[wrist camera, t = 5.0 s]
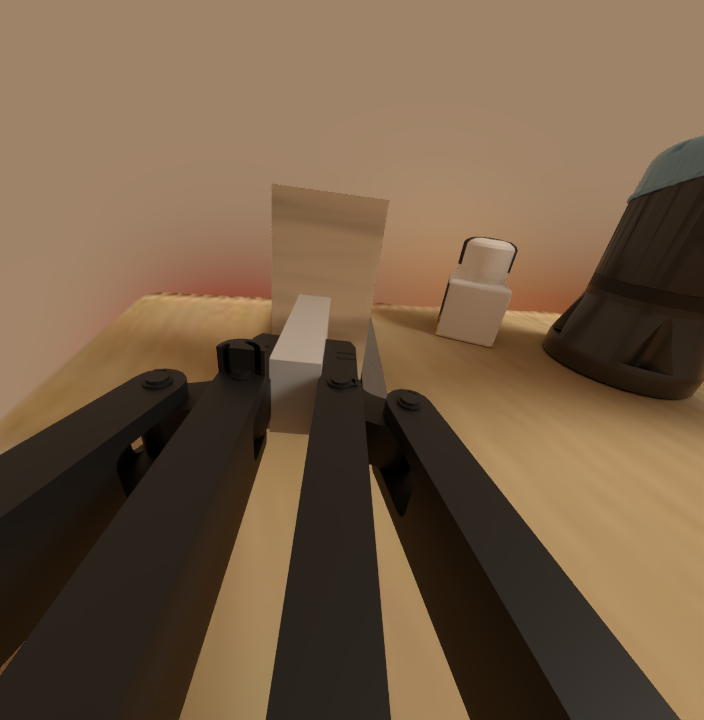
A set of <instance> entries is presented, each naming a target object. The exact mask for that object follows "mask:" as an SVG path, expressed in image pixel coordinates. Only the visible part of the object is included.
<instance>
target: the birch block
mask: <svg viewBox="0 0 704 720" xmlns="http://www.w3.org/2000/svg"><path fill="white" fill-rule="evenodd" d="M388 204H389V200H383V199H377V198H369V197H362V196H355V195H348V194H341V193H334V192H327V191H320V190H313V189H306V188H298V187H292V186H285V185H277V184H272V334H274V335H281V333H282V331H283V329H284V326H285V324H286V322H287V320H288V318H289V316H290V314H291V312H292V309H293V307H294V305H295V303H296V301H297V299H298V297H299V295H300V294H302V295H311V296H320V297H329V298H331V302H330V313H329V324H328V335H327V339H332V340H341V341H350V342H351V343H352V344H353V345H354V346H355V347H356V357H357V371H358V379H359V380H360V378H361V372H362V366H363V360H364V353H365V347H366V341H367V335H368V329H369V322H370V316H371V310H372V304H373V297H374V291H375V285H376V279H377V273H378V266H379V260H380V254H381V248H382V241H383V235H384V229H385V223H386V216H387V210H388Z"/></svg>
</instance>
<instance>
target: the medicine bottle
mask: <svg viewBox="0 0 704 720" xmlns="http://www.w3.org/2000/svg"><path fill="white" fill-rule="evenodd" d="M516 253H517V247H516V246H515V245H513V244H512V243H510V242H507V241H503V240H499V239H493V238H487V237H472V238H469V239H467V240H465V242H464V245H463V249H462V252H461V255H460V259H459V262H458V266H457V270H459V272H456V271H453V272H451V273H450V277H449V280H448V284H447V288H446V292H445V295H444V299H443V303H442V306H441V310H440V313H439V317H438V321H437V325H436V330H435V334H436V335H438V336H442V337H447V338H451V339H455V340H460V341H464V342H468V343H473V344H477V345H481V346H485V347H492V346H493V343H494V341H495V338H496V335H497V333H498V330H499V327H500V325H501V322H502V320H503V317H504V314H505V312H506V309H507V307H508V304H509V301H510V298H511V296H512V292H511V291H510V289H509V287H508V286H507V284H506V283H505V281H504V280H505V279H507V278H508V275H509V273H510V270H511V267H512V265H513V262H514V259H515V256H516Z"/></svg>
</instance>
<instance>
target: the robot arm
mask: <svg viewBox="0 0 704 720" xmlns="http://www.w3.org/2000/svg"><path fill="white" fill-rule="evenodd" d="M627 204H628V206H627V208H626V210H625V212H624V214H623V216H622V218H621V220H620V222H619V224H618V226H617V228H616V230H615V232H614V234H613V236H612V238H611V240H610V242H609V244H608V246H607V248H606V250H605V252H604V254H603V256H602V258H601V260H600V262H599V264H598V266H597V268H596V270H595V272H594V274H593V276H592V279H591V280H590V282H589V284H588V286H587V288H586V290H585V291H584V292H583V294H582V295H581V296H580V297H579V298H578V299H577V300H576V301H575V302H574V303H573V304H572V305H571V306H570V307H569V308H568V309H567V310H566V311H565V312H564V313H563V314H562V315H561V317H560V318H559V319H558V320H557V321H556V322H555V323H554V324H553V325H552V326H551V327H550V329H549V330H548V332H547V335H546V337H545V339H544V341H543V347H544V349H545V350H546V351H547V352H548V353H549V354H550V355H551V356H552V357H554V358H555V359H556V360H558V361H559V362H561V363H563V364H564V365H566V366H568V367H570V368H572V369H574V370H575V371H578V372H580V373H582V374H584V375H586V376H589V377H591V378H593V379H596V380H598V381H601V382H603V383H606V384H609V385H612V386H615V387H618V388H621V389H624V390H628V391H631V392H635V393H639V394H643V395H647V396H652V397H658V398H665V399H686V398H689V397H691V396H692V395H693V394H694V393H695V391H696V390H697V389H698V388H699V386H700V385H701V384H702V383H703V381H704V136H700V137H696V138H693V139H690V140H687V141H684V142H681V143H678V144H676V145H674V146H672V147H670V148H668V149H667V150H665V151H663V152H662V153H661V154H659V155H658V156H657V157H656V158H655V159H654V160H653V161H652V162H651V164H650V165H649V167H648V168H647V170H646V172H645V174H644V175H643V177H642V179H641V181H640V182H639V184H638V186H637V188H636V190H635V191H634V193H633V195H631V196H630V197H629V199H628V201H627ZM330 302H331V298H329V297H320V296H311V295H302V294H300V295H299V297H298V299H297V301H296V303H295V305H294V307H293V309H292V312H291V314H290V316H289V318H288V320H287V322H286V324H285V326H284V329H283V331H282V333H281V335H274V334H264V333H262V334H260V335H258V336H256V337H254V338H253V339H252V340H251V339H233V340H228V341H225V342H222V343H220V344H219V345H217V346H216V349H217V358H218V368H219V372H218V374H217V375H216V377H215V378H214V379H213V380H212V381H206V382H196V383H187V378H186V376H185V375H184V373H183V372H180V371H178V370H173V369H155V370H153V371H148V372H145V373H143V374H140V375H138V376H136V377H134V378H132V379H131V380H129V381H127V382H126V383H124V384H122V385H120V386H119V387H117V388H115V389H113V390H112V391H110V392H108V393H107V394H105V395H103V396H101V397H100V398H98V399H96V400H94V401H93V402H91V403H89V404H88V405H86V406H84V407H82V408H81V409H79V410H77V411H75V412H74V413H72V414H70V415H68V416H67V417H65V418H63V419H62V420H60V421H58V422H56V423H55V424H53V425H51V426H49V427H48V428H46V429H44V430H43V431H41V432H39V433H37V434H36V435H34V436H32V437H30V438H29V439H27V440H25V441H24V442H22V443H20V444H18V445H17V446H15V447H13V448H11V449H10V450H8V451H6V452H4V453H3V454H1V455H0V667H1V666H2V665H3V664H4V663H5V662H6V661H7V660H8V659H9V658H10V657H11V655H12V654H13V653H14V652H15V651H16V650H17V649H18V648H19V647H20V646H21V645H22V644H23V643H24V644H23V645H22V646H21V648H20V649H19V650H18V652H17V653H16V655H15V656H14V657H13V659H12V660H11V662H10V663H9V664H8V666H7V667H6V669H5V670H4V671H3V673H2V674H1V675H0V720H179V718H180V714H181V711H182V708H183V705H184V702H185V699H186V695H187V692H188V689H189V686H190V683H191V680H192V677H193V673H194V670H195V667H196V664H197V661H198V658H199V654H200V651H201V648H202V645H203V642H204V639H205V635H206V632H207V629H208V626H209V623H210V620H211V616H212V613H213V610H214V607H215V604H216V601H217V598H218V594H219V591H220V588H221V585H222V582H223V579H224V575H225V572H226V569H227V566H228V563H229V560H230V556H231V553H232V550H233V547H234V544H235V541H236V538H237V534H238V531H239V528H240V525H241V522H242V519H243V515H244V512H245V509H246V506H247V503H248V500H249V496H250V493H251V490H252V487H253V484H254V481H255V477H256V474H257V471H258V468H259V465H260V462H261V459H262V455H263V452H264V449H265V446H266V438H267V437H266V430H267V427H268V424H269V421H270V432H281V433H294V434H306V435H309V442H308V448H307V455H306V461H305V468H304V474H303V481H302V487H301V494H300V500H299V507H298V513H297V520H296V526H295V533H294V539H293V546H292V552H291V559H290V565H289V572H288V578H287V585H286V591H285V598H284V604H283V611H282V617H281V624H280V630H279V637H278V643H277V650H276V656H275V663H274V669H273V676H272V682H271V689H270V695H269V702H268V709H267V715H266V720H391V715H390V704H389V692H388V680H387V669H386V657H385V646H384V634H383V623H382V611H381V599H380V588H379V576H378V565H377V553H376V542H375V530H374V518H373V507H372V495H371V484H370V472H369V464H371V465H372V469H373V473H374V475H375V478H376V481H377V483H378V486H379V488H380V491H381V493H382V496H383V498H384V501H385V504H386V506H387V509H388V511H389V514H390V516H391V519H392V521H393V524H394V527H395V529H396V532H397V534H398V537H399V539H400V542H401V544H402V547H403V550H404V552H405V555H406V557H407V560H408V562H409V565H410V567H411V570H412V573H413V575H414V578H415V580H416V583H417V585H418V588H419V590H420V593H421V596H422V598H423V601H424V603H425V606H426V608H427V611H428V613H429V616H430V618H431V621H432V624H433V626H434V629H435V631H436V634H437V636H438V639H439V641H440V644H441V647H442V649H443V652H444V654H445V657H446V659H447V662H448V664H449V667H450V670H451V672H452V675H453V677H454V680H455V682H456V685H457V687H458V690H459V693H460V695H461V698H462V700H463V703H464V705H465V708H466V710H467V713H468V716H469V718H470V720H680V719H679V717H678V716H677V715H676V713H675V712H674V711H673V710H672V708H671V707H670V706H669V705H668V703H667V702H666V701H665V699H664V698H663V697H662V696H661V694H660V693H659V692H658V691H657V689H656V688H655V687H654V685H653V684H652V683H651V682H650V680H649V679H648V678H647V677H646V675H645V674H644V673H643V671H642V670H641V669H640V668H639V666H638V665H637V664H636V663H635V661H634V660H633V659H632V657H631V656H630V655H629V654H628V652H627V651H626V650H625V649H624V647H623V646H622V645H621V643H620V642H619V641H618V640H617V638H616V637H615V636H614V635H613V633H612V632H611V631H610V629H609V628H608V627H607V626H606V624H605V623H604V622H603V621H602V619H601V618H600V617H599V615H598V614H597V613H596V612H595V610H594V609H593V608H592V607H591V605H590V604H589V603H588V601H587V600H586V599H585V598H584V596H583V595H582V594H581V593H580V591H579V590H578V589H577V588H576V586H575V585H574V584H573V582H572V581H571V580H570V579H569V577H568V576H567V575H566V574H565V572H564V571H563V570H562V568H561V567H560V566H559V565H558V563H557V562H556V561H555V560H554V558H553V557H552V556H551V554H550V553H549V552H548V551H547V549H546V548H545V547H544V546H543V544H542V543H541V542H540V540H539V539H538V538H537V537H536V535H535V534H534V533H533V532H532V530H531V529H530V528H529V526H528V525H527V524H526V523H525V521H524V520H523V519H522V518H521V516H520V515H519V514H518V512H517V511H516V510H515V509H514V507H513V506H512V505H511V504H510V502H509V501H508V500H507V498H506V497H505V496H504V495H503V493H502V492H501V491H500V490H499V488H498V487H497V486H496V484H495V483H494V482H493V481H492V479H491V478H490V477H489V476H488V474H487V473H486V472H485V470H484V469H483V468H482V467H481V465H480V464H479V463H478V462H477V460H476V459H475V458H474V456H473V455H472V454H471V453H470V451H469V450H468V449H467V448H466V446H465V445H464V444H463V442H462V441H461V440H460V439H459V437H458V436H457V435H456V434H455V432H454V431H453V430H452V428H451V427H450V426H449V425H448V423H447V422H446V421H445V420H444V418H443V417H442V416H441V414H440V413H439V412H438V411H437V409H436V408H435V407H434V406H433V404H432V403H431V402H430V401H429V400H428V399H427V398H426V397H425V396H423V395H421V394H419V393H418V392H415V391H412V390H404V389H399V390H394V391H392V392H390V393H388V395H387V397H386V399H385V398H382V397H378V396H375V395H373V394H370V393H369V392H367V391H365V390H364V389H363V388H362V384H361V381H360V380H359V379H358V371H357V357H356V347H355V346H354V345H353V344H352V343H351V342H350V341H341V340H332V339H327V335H328V324H329V313H330ZM140 436H141V437H142V441H143V444H142V445H141V446H140V447H139V448H137V449H135V450H133V449H132V447H131V443H133V442H134V441H135V440H136V439H138V438H139V437H140ZM25 640H26V641H25ZM24 641H25V642H24Z"/></svg>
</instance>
